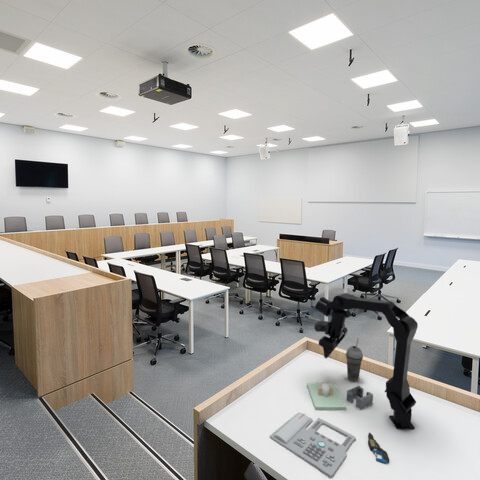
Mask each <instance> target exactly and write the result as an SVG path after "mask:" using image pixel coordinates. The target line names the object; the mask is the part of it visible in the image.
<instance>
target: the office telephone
mask: <svg viewBox="0 0 480 480" xmlns="http://www.w3.org/2000/svg"><path fill="white" fill-rule="evenodd" d="M321 426H325V427H327V428H329V429H331V430H333V431H335V432H336V433H338V434H340V435H342V436H344V437H346V438H345V439H344V441H343V442H342V443H338V442H337V441H335V440H333V439H330V438H329V437H327V436H325V435H324V434H321V433H320V432H318V429H320V428H321ZM269 438H270V439H271V440H272V441H274V442H275V443H277V444H278V445H281V446H282V447H283V448H285V449H286V450H287V451H289V452H291V453H293V454H294V455H296V456H297V457H299V458H300V459H301V460H304V462H306V463H308V464H309V465H311V466H312V467H314V468H315V469H317V470H318V471H319V472H321V473H322V474H324V475H325V476H326V477H328V478H329V479H333V477H334V476H335V475H336V473H337V472H338V470H339V469H340V467H341V466H342V464H343V463H344V462H345V460H346V458H347V455H348V453H347V452H348V451H349V449H350V447H351V446H352V445H353V443H354V442H356V440H357V439H356V438H357V437H356V436H355V435H353V434H351V433H349V432H347V431H345V430H343V429H342V428H340V427H338V426H336V425H334V424H332V423H331V422H329V421H327V420H324V419H322V418H320V417H318V418H317V419H316V420H315V421H314V423H313V418H312V417H309V416H308V415H306V414H305V413H303V412H297V413H296V414H295V415H293V416H292V417H291V418H290V419H288V420H287V421H286V422H284V423H283V424H282V425H281V426H280V427H278V429H276V430H274V432H273V433H271V434H269Z"/></svg>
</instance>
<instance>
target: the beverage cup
mask: <svg viewBox="0 0 480 480" xmlns="http://www.w3.org/2000/svg"><path fill="white" fill-rule="evenodd" d="M358 344H359V338H357V339H356V343H355V345H351V346H349V347H347V349H346V353H345V358H346V369H347V372H346V373H347V380H348V381H349V382H351V383H357V382H359V378H360V373H361V372H360V371H361V365H362V361H363V358H364V354H363V351H362V349H361V348H360V347H359V346H358Z"/></svg>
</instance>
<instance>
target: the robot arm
mask: <svg viewBox="0 0 480 480" xmlns="http://www.w3.org/2000/svg"><path fill="white" fill-rule="evenodd" d="M352 309H353V310H354V309H355V310H364V311H368V312H371V311H372V312H376V313H382V315H384V317H385V319H386V321H387V323H388V324H389V325H390V326H391V327H392V330H393V336H394V338H395V341H396V342H395V343H396V345H395V352H394V353H395V354H394V362H393V363H394V365H393V372H392V373H393V374H392V377H390V378H389V379H388V380H387V381H385V390H384V393H385V395H386V399H387V400H388V403H389V406H390V409H391V411H393V415H388V418H389V419H390V421H391V422H392V424H393V425H394V427H395V428H396V429H397V430H415V429H416V428H415V425H414V424H413V423H412V417H413V415H412V410H413V408H414V406H415V405H416V403H417V401H416V399H415V398H414V397H413V395H412V393H411V391H410V384H409V381H408V370H409V363H410V353H411V344H412V341H413V339H414V338H415V335H416V333H417V330H418V327H419V325H418V324H419V323H418V322H417V321H416V319H415V318H413V317H412V316H411V315H409V314H408V313H407V312H406V311H405V310H403V309H402V308H400V307H398V306H397V304H395V303H394V302H393V301H391V300H381V299H372V298H363V297H357V296H355V295H354V294H351V293H348V292H347V293H346V292H344V293H340V294H337V295H335V296H334V297H333V298H332V300H329V299H327V298H326V297H324V296H321V297H319V300H318V301H317V302H316V304H315V307H314V311H316V312H318V313H320V314H322V315H323V316H325V317H330V316H331V317H330V321H325V320H318V321H317V322H316V323H315V324H314V327H313V328H314V330H315V331H316V332H320V333H322V332H323V333H324V334H325V335H323V336H322V337H321V338H320V339H319V340H318V345H319V346H320V347H322V349H323V358H324V359H328V358H329V356H330V355H331V354H332V353H333V352H334V350H336V348H337V347H338V346H339V344H341V342H342V341H343V339H344V338H345V337H346V335H347V334H348V330H349V329H348V328H347V327H346V324H345V322H346V320H347V319H348V318H351V317H352V316H353V315H352V312H351V311H350V310H352ZM327 335H328V336H327Z"/></svg>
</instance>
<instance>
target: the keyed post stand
mask: <svg viewBox="0 0 480 480" xmlns="http://www.w3.org/2000/svg"><path fill="white" fill-rule="evenodd" d="M306 387H307V390H308V393H309V395H310V399H311V402H312V404H313V407H314V409H315V411H347V405H346V404H345V402H344V400H343V399H344V398H342V396H341V394H340V391H339V390H338V388H337V386H336V384H335V383H334V382H307V383H306Z"/></svg>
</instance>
